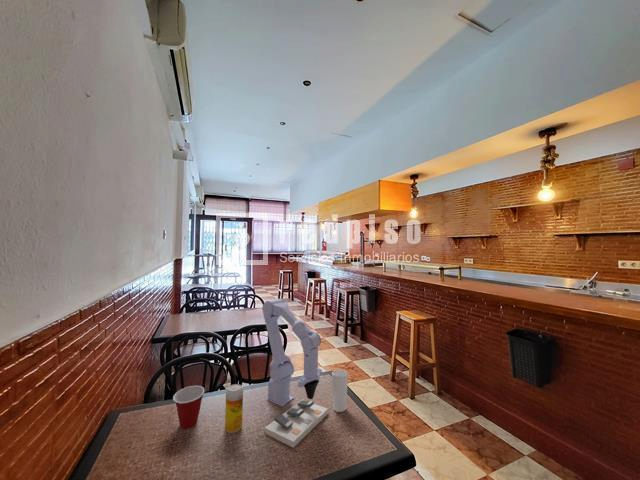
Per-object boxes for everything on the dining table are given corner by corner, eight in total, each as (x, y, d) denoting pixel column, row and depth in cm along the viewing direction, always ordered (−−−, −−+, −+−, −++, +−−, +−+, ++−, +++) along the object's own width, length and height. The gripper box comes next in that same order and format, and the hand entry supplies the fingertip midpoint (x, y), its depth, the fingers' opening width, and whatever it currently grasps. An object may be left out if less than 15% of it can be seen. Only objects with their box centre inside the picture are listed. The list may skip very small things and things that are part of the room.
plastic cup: (165, 428, 100) (166, 395, 101) (191, 413, 110) (192, 383, 110) (184, 438, 95) (185, 403, 96) (209, 421, 105) (210, 389, 105)
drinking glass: (347, 405, 117) (347, 369, 118) (347, 414, 111) (347, 376, 111) (332, 404, 118) (332, 368, 119) (330, 413, 111) (331, 375, 112)
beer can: (236, 435, 97) (238, 392, 98) (221, 432, 99) (222, 390, 99) (244, 424, 103) (246, 384, 104) (230, 422, 104) (231, 382, 105)
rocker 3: (297, 406, 112) (297, 403, 112) (302, 402, 115) (301, 399, 115) (309, 407, 109) (309, 404, 109) (313, 403, 111) (313, 401, 112)
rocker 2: (287, 414, 106) (286, 411, 106) (292, 410, 109) (291, 407, 109) (299, 416, 103) (298, 413, 103) (304, 412, 106) (303, 409, 106)
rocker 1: (274, 420, 100) (275, 417, 100) (280, 416, 103) (280, 413, 103) (286, 430, 97) (287, 427, 97) (292, 425, 100) (293, 422, 100)
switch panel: (264, 433, 99) (265, 426, 99) (302, 403, 118) (302, 397, 118) (293, 447, 92) (293, 440, 92) (327, 413, 111) (327, 407, 111)
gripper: (308, 373, 103) (308, 409, 102) (328, 360, 115) (327, 393, 115) (294, 368, 107) (293, 404, 106) (314, 356, 119) (313, 388, 118)
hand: (310, 398), depth 111 cm, fingers closed
